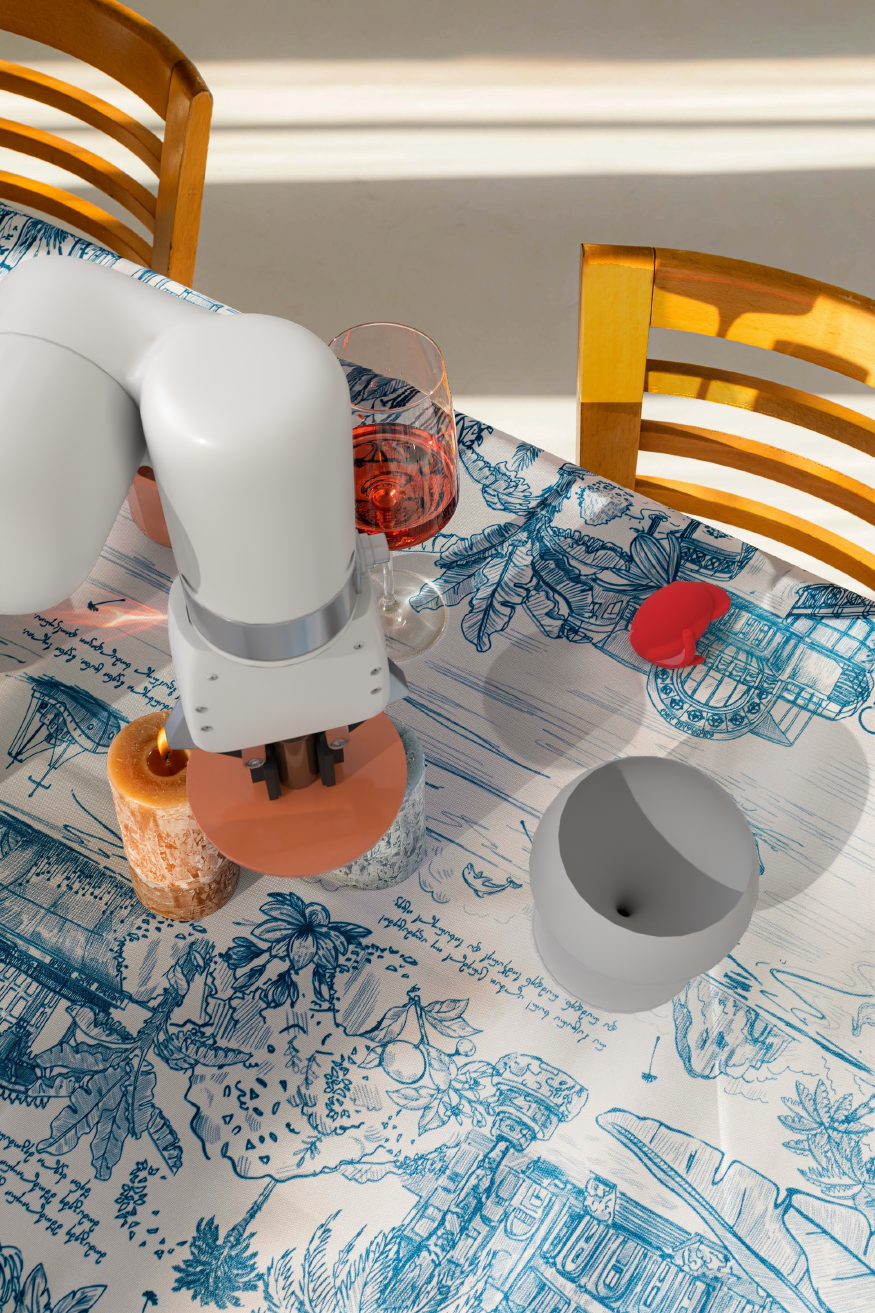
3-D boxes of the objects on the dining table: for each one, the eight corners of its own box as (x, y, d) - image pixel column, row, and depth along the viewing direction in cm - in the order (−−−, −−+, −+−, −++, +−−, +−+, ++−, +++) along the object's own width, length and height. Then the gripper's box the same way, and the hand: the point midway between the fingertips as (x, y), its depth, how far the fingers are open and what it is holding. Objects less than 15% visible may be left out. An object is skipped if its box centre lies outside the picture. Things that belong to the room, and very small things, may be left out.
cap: (662, 696, 93) (677, 655, 88) (609, 645, 95) (621, 602, 90) (733, 643, 96) (751, 600, 91) (679, 595, 98) (695, 550, 93)
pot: (117, 545, 99) (98, 486, 93) (143, 443, 105) (127, 381, 99) (254, 554, 99) (245, 496, 93) (272, 451, 105) (264, 389, 99)
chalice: (751, 906, 84) (814, 816, 71) (655, 1075, 78) (706, 1009, 65) (580, 802, 88) (611, 699, 75) (475, 955, 81) (490, 870, 69)
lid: (169, 872, 65) (149, 822, 59) (209, 678, 72) (194, 616, 66) (397, 891, 65) (398, 842, 59) (415, 695, 71) (418, 634, 66)
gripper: (426, 478, 55) (417, 684, 71) (71, 547, 52) (143, 745, 68) (473, 608, 51) (452, 795, 67) (93, 690, 48) (164, 865, 64)
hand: (296, 769), depth 67 cm, fingers closed on lid, 2 cm apart
